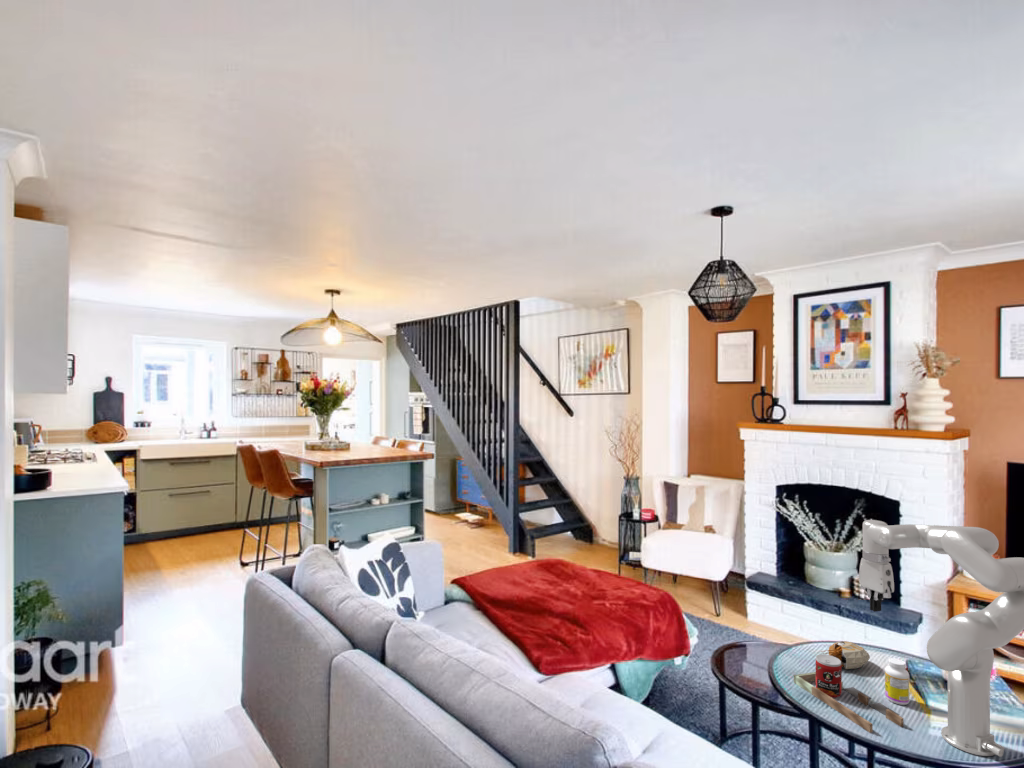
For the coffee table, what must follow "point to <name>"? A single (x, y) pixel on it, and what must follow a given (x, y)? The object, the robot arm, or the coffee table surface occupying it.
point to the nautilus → (849, 654)
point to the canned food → (828, 675)
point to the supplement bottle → (897, 682)
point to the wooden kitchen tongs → (863, 698)
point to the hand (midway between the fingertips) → (875, 610)
